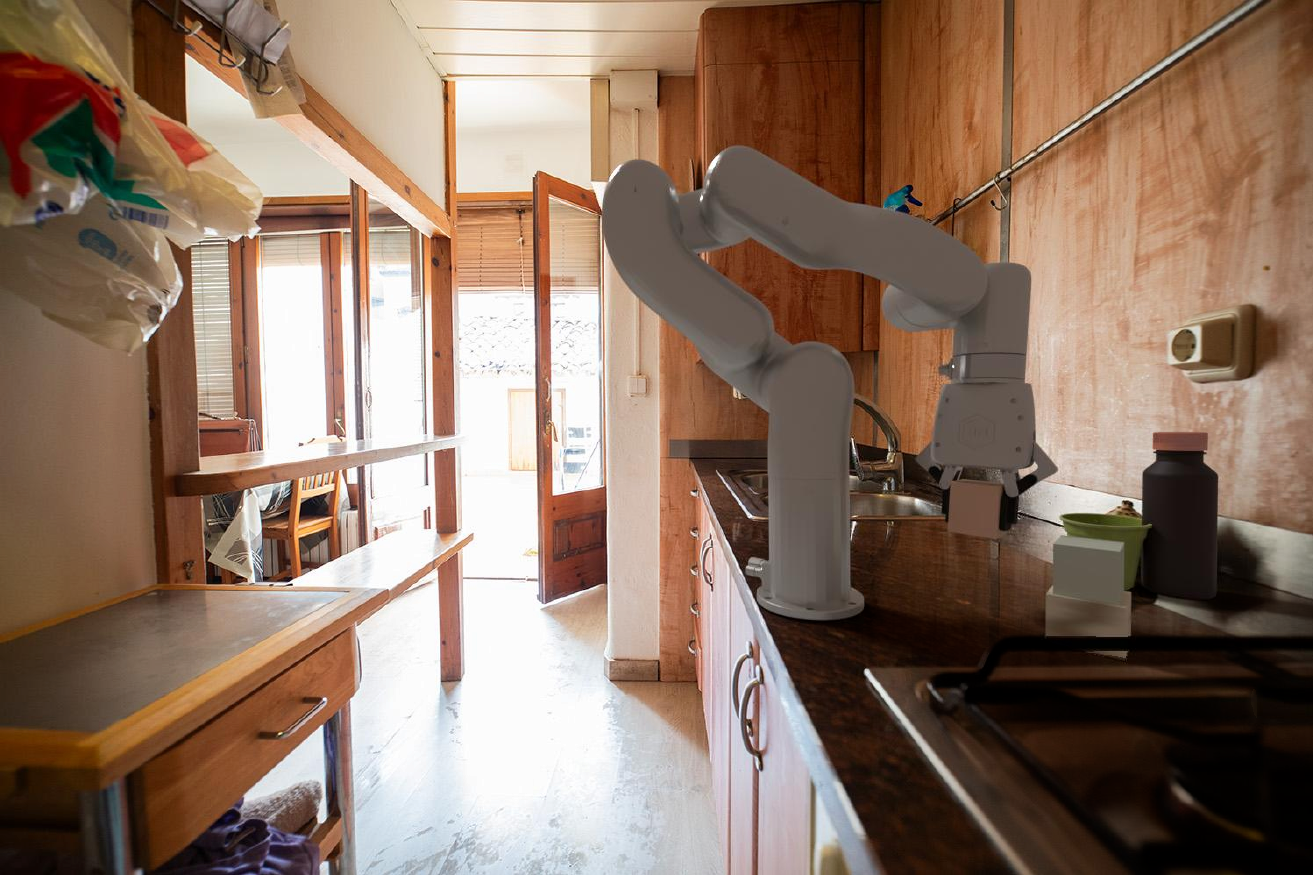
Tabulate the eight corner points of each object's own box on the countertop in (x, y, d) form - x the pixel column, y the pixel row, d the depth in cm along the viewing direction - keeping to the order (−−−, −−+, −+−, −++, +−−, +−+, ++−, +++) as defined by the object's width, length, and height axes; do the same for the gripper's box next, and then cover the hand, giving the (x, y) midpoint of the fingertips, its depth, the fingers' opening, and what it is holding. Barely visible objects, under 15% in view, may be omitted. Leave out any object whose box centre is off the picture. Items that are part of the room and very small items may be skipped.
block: (947, 531, 64) (950, 481, 64) (960, 526, 68) (963, 479, 68) (995, 539, 61) (999, 486, 61) (1006, 533, 64) (1009, 483, 64)
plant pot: (1171, 597, 66) (1172, 526, 65) (1083, 594, 67) (1083, 525, 67) (1121, 575, 75) (1122, 513, 74) (1045, 573, 77) (1045, 512, 76)
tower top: (1052, 593, 53) (1053, 543, 53) (1061, 582, 57) (1061, 535, 57) (1119, 605, 50) (1120, 551, 50) (1123, 592, 53) (1124, 542, 53)
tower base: (1045, 644, 53) (1045, 594, 53) (1056, 626, 58) (1056, 580, 57) (1125, 662, 49) (1126, 608, 49) (1130, 642, 53) (1131, 592, 53)
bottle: (1183, 583, 71) (1185, 431, 70) (1233, 601, 64) (1236, 432, 63) (1127, 583, 71) (1129, 432, 71) (1171, 600, 65) (1173, 433, 64)
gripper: (901, 372, 67) (892, 517, 68) (1072, 367, 55) (1060, 543, 56) (922, 377, 72) (914, 511, 73) (1082, 373, 60) (1071, 534, 61)
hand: (977, 523), depth 64 cm, fingers closed on block, 5 cm apart
